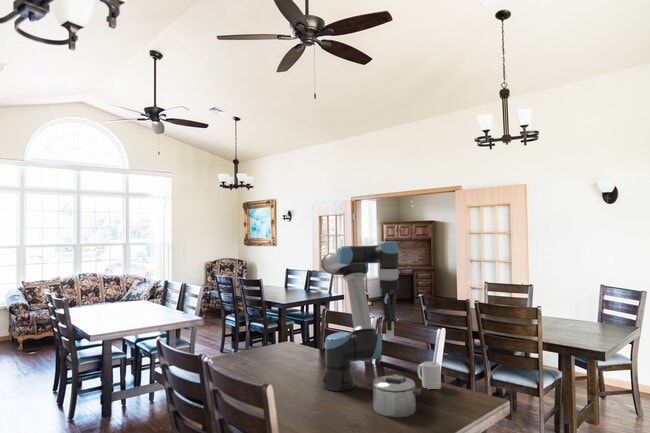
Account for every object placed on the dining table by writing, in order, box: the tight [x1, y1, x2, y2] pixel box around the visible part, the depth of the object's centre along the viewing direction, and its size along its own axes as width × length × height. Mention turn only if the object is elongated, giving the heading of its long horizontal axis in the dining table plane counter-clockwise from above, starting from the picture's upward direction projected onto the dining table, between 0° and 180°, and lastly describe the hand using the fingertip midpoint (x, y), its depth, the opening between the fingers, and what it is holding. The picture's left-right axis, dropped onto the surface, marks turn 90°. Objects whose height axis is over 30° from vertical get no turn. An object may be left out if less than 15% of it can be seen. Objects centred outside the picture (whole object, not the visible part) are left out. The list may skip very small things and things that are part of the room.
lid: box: [372, 374, 416, 392], centre depth 164 cm, size 16×17×2 cm
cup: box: [417, 361, 442, 390], centre depth 188 cm, size 8×12×10 cm
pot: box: [366, 383, 422, 418], centre depth 163 cm, size 21×17×9 cm
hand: (390, 338), depth 166 cm, fingers closed
